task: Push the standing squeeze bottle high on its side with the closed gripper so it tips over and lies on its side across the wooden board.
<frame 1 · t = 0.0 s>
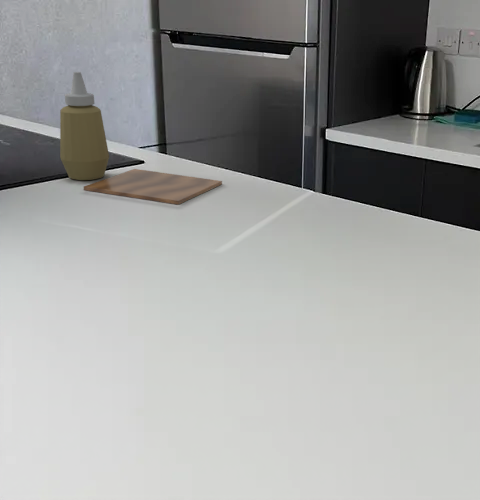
squeeze bottle: (86, 178, 120), on the countertop
wooden board: (155, 187, 116), on the countertop
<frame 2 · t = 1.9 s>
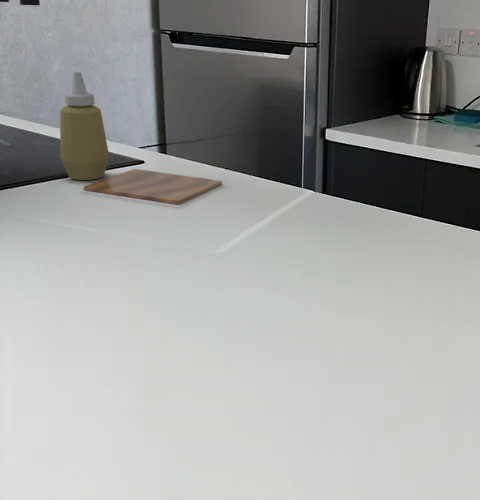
hand: (14, 3, 111), 28 cm above the countertop, tool pointing down, fingers open, 13 cm apart
nothing on the countertop moved.
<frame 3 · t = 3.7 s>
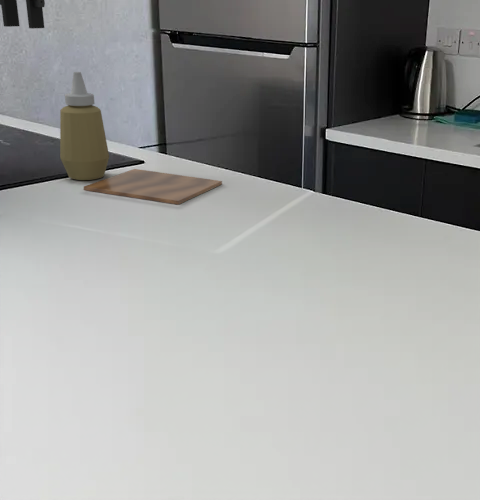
hand: (24, 26, 115), 25 cm above the countertop, tool pointing down, fingers open, 4 cm apart
nothing on the countertop moved.
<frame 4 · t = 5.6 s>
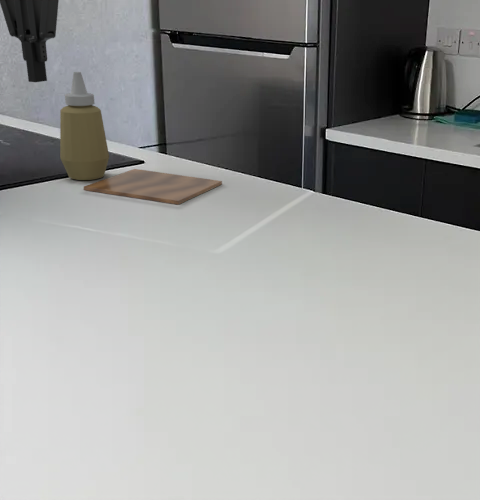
hand: (37, 81, 117), 16 cm above the countertop, tool pointing down, fingers closed
nothing on the countertop moved.
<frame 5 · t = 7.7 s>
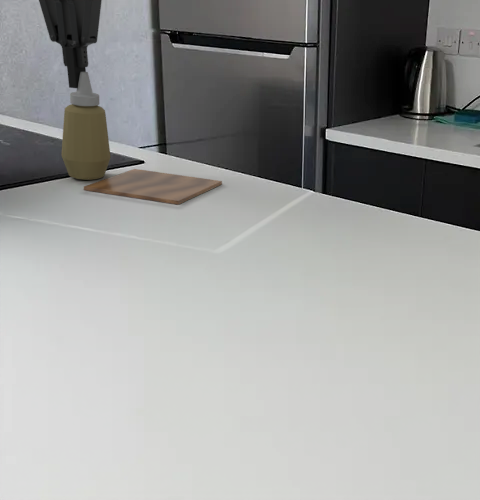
hand: (78, 86, 115), 16 cm above the countertop, tool pointing down, fingers closed
squeeze bottle: (86, 176, 120), on the countertop, touching gripper
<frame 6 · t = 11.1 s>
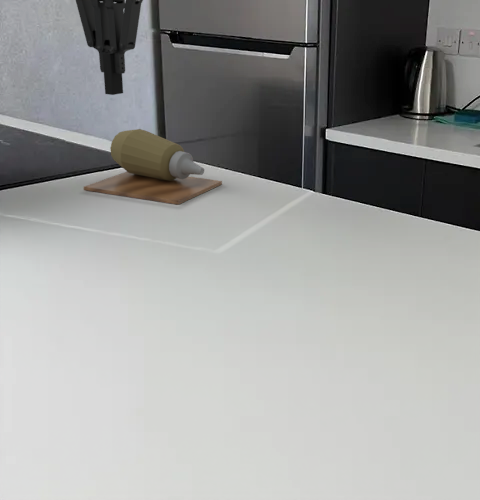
hand: (114, 93, 113), 15 cm above the countertop, tool pointing down, fingers closed
squeeze bottle: (120, 146, 122), point 5 cm above the countertop, touching wooden board
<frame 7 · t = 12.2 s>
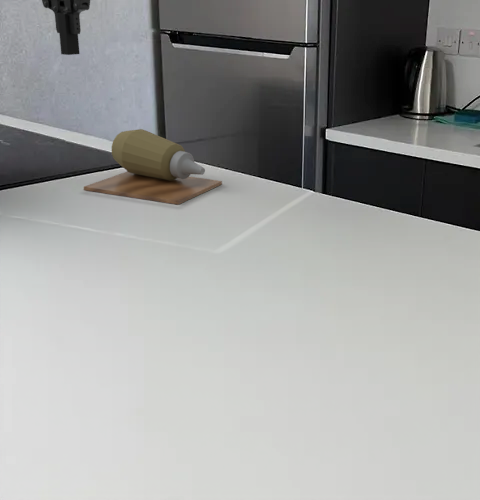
hand: (70, 54, 116), 21 cm above the countertop, tool pointing down, fingers closed
nothing on the countertop moved.
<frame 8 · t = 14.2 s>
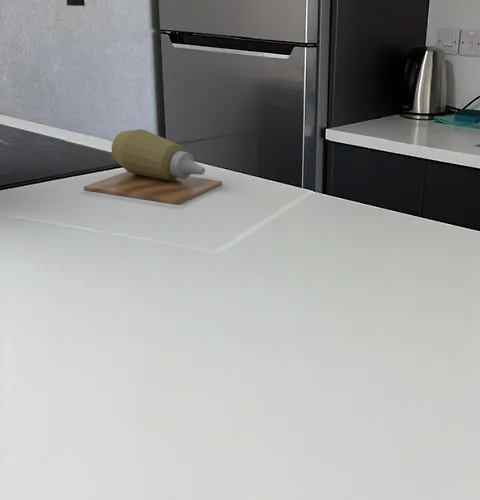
hand: (75, 5, 117), 28 cm above the countertop, tool pointing down, fingers closed
nothing on the countertop moved.
at the end: squeeze bottle tilted 95°; squeeze bottle touching wooden board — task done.
